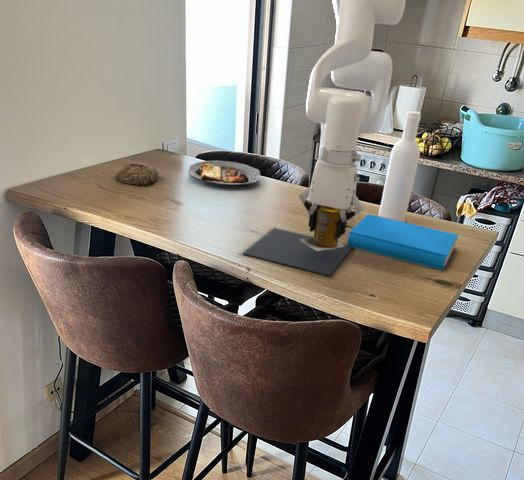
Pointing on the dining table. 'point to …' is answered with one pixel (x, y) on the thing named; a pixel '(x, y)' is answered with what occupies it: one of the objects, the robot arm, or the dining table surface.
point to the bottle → (401, 171)
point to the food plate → (224, 173)
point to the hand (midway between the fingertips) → (326, 232)
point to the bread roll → (137, 174)
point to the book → (403, 241)
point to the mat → (297, 252)
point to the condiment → (325, 229)
